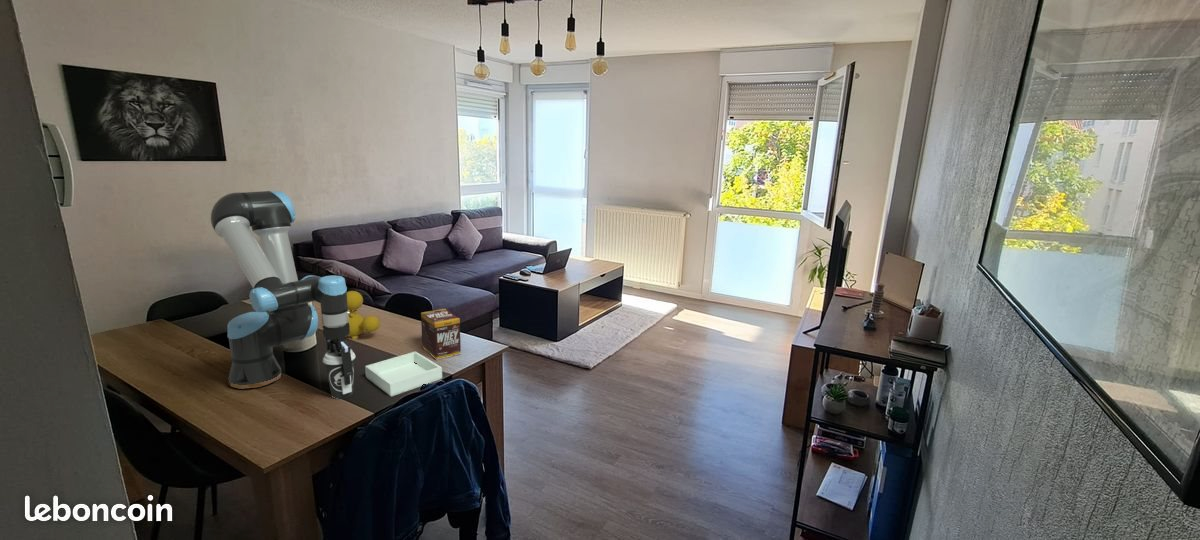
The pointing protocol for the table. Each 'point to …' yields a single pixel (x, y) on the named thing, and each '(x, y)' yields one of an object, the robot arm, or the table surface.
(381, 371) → the bin
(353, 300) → the toy
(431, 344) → the supplement box
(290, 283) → the robot arm
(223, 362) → the table surface
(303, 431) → the table surface
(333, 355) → the coffee cup
